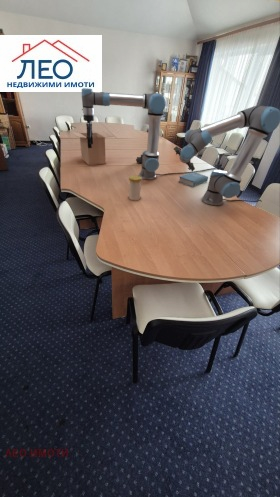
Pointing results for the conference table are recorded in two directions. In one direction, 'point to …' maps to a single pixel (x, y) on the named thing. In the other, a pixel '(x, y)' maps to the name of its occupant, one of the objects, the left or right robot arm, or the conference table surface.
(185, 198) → the conference table surface
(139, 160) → the laser sight
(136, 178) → the lid
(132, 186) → the jar
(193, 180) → the book
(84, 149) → the box
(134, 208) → the conference table surface
